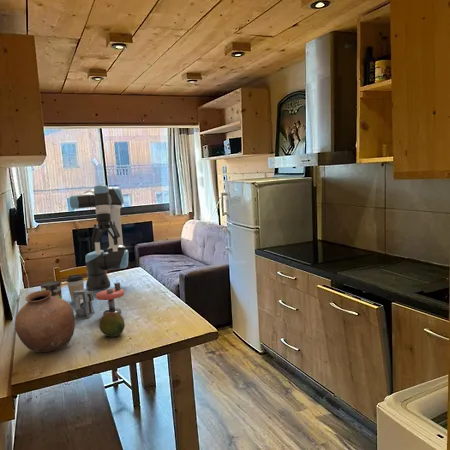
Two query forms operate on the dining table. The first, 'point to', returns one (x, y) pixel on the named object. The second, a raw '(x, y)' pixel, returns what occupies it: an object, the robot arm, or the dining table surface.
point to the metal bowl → (112, 307)
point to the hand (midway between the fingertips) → (106, 253)
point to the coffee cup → (75, 285)
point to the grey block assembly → (86, 309)
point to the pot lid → (110, 293)
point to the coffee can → (52, 288)
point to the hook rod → (80, 303)
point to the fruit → (112, 324)
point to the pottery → (45, 322)
